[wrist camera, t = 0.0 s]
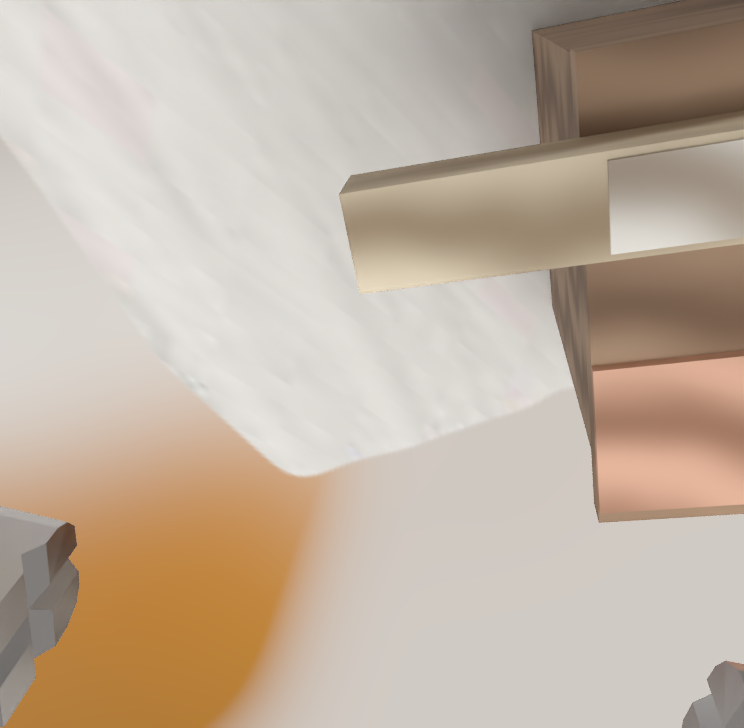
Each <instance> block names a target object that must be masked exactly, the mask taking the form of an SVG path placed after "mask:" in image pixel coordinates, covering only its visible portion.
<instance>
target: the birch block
mask: <svg viewBox="0 0 744 728" xmlns="http://www.w3.org/2000/svg"><path fill="white" fill-rule="evenodd" d="M339 197H340V201H341V206H342V211H343V216H344V221H345V225H346V230H347V235H348V240H349V245H350V249H351V254H352V259H353V264H354V268H355V273H356V278H357V283H358V288H359V292H360V294H365V293H373V292H380V291H388V290H396V289H403V288H411V287H418V286H426V285H434V284H441V283H449V282H457V281H464V280H472V279H479V278H487V277H495V276H502V275H510V274H517V273H525V272H533V271H540V270H548V269H556V268H563V267H571V266H578V265H586V264H594V263H601V262H609V261H617V260H624V259H632V258H639V257H647V256H655V255H662V254H670V253H677V252H685V251H693V250H700V249H708V248H716V247H723V246H731V245H738V244H744V110H743V111H737V112H731V113H725V114H719V115H713V116H707V117H701V118H695V119H689V120H683V121H677V122H671V123H665V124H659V125H653V126H647V127H641V128H635V129H629V130H623V131H617V132H611V133H605V134H598V135H592V136H586V137H580V138H574V139H568V140H562V141H556V142H550V143H544V144H538V145H532V146H526V147H520V148H514V149H508V150H502V151H496V152H490V153H484V154H478V155H472V156H466V157H460V158H454V159H447V160H441V161H435V162H429V163H423V164H417V165H411V166H405V167H399V168H393V169H387V170H381V171H375V172H369V173H363V174H357V175H351V176H350V178H349V179H348V181H347V182H346V184H345V186H344V187H343V189H342V190H341V192H340V193H339Z"/></svg>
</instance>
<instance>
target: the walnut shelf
mask: <svg viewBox="0 0 744 728" xmlns="http://www.w3.org/2000/svg"><path fill="white" fill-rule="evenodd" d="M532 40H533V53H534V67H535V80H536V93H537V106H538V120H539V133H540V144H544V143H550V142H556V141H562V140H568V139H574V138H580V137H586V136H592V135H598V134H605V133H611V132H617V131H623V130H629V129H635V128H641V127H647V126H653V125H659V124H665V123H671V122H677V121H683V120H689V119H695V118H701V117H707V116H713V115H719V114H725V113H731V112H737V111H743V110H744V0H684V1H679V2H674V3H669V4H664V5H659V6H654V7H649V8H644V9H638V10H633V11H628V12H623V13H618V14H613V15H608V16H603V17H598V18H593V19H588V20H583V21H578V22H572V23H567V24H562V25H557V26H552V27H547V28H542V29H537V30H532ZM550 279H551V293H552V306H553V310H554V314H555V318H556V321H557V325H558V329H559V332H560V336H561V340H562V343H563V347H564V351H565V354H566V358H567V362H568V365H569V369H570V373H571V376H572V380H573V384H574V387H575V391H576V395H577V398H578V402H579V406H580V409H581V413H582V417H583V420H584V424H585V428H586V431H587V435H588V439H589V442H590V446H591V452H592V469H593V489H594V504H595V508H596V512H597V516H598V520H599V523H600V522H617V521H631V520H649V519H665V518H681V517H696V516H713V515H730V514H744V244H738V245H731V246H723V247H716V248H708V249H700V250H693V251H685V252H677V253H670V254H662V255H655V256H647V257H639V258H632V259H624V260H617V261H609V262H601V263H594V264H586V265H578V266H571V267H563V268H556V269H550Z"/></svg>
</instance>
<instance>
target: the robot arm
mask: <svg viewBox="0 0 744 728" xmlns="http://www.w3.org/2000/svg"><path fill="white" fill-rule="evenodd" d="M76 546H77V542H76V534H75V526H74V525H72V524H70V523H68V522H64V521H60V520H56V519H52V518H47V517H43V516H39V515H35V514H31V513H27V512H22V511H18V510H14V509H10V508H6V507H2V506H0V727H4V726H5V724H6V723H7V721H8V720H9V718H10V717H11V715H12V714H13V712H14V710H15V709H16V707H17V706H18V704H19V703H20V701H21V699H22V698H23V696H24V695H25V693H26V692H27V690H28V688H29V687H30V685H31V684H32V682H33V681H34V679H35V677H36V676H35V667H34V658H35V657H37V656H39V655H41V654H42V653H44V652H46V651H47V650H49V649H51V648H53V647H54V646H56V644H57V642H58V641H59V639H60V637H61V636H62V634H63V632H64V631H65V629H66V628H67V625H68V623H69V620H70V618H71V615H72V613H73V610H74V608H75V605H76V602H77V596H78V589H79V572H78V570H77V569H76V568H75V566H74V565H73V564H72V563H71V561H70V560H69V559H68V557H69V556H70V555H71V553H72V552H73V550H74V549H75V547H76ZM707 681H708V684H709V687H710V690H711V693H712V694H710V695H708V696H706V697H704V698H702V699H699V700H697V701H695V702H693V703H692V705H691V707H690V709H689V711H688V712H687V714H686V716H685V718H684V720H683V725H682V728H744V664H739V663H734V662H729V661H724V662H722V663H721V664H719V665H717V666H715V668H714V669H713V671H712V673H711V674H710V676H709V677H708V679H707Z"/></svg>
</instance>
